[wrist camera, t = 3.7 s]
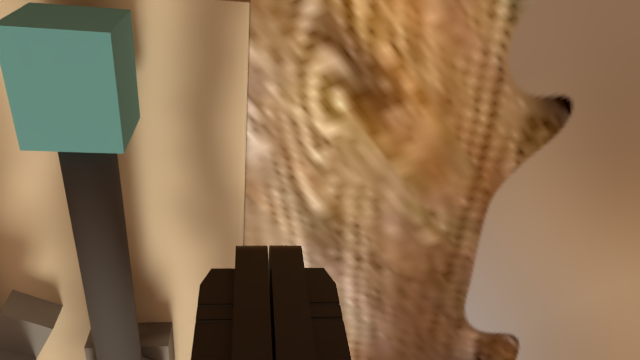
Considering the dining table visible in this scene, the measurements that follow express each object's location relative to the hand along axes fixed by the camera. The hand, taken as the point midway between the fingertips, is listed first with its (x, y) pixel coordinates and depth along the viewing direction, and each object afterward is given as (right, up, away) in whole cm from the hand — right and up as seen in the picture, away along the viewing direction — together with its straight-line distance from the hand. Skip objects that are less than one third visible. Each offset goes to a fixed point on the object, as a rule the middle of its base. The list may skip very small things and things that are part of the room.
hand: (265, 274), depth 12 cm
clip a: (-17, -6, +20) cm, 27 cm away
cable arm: (-10, -1, +16) cm, 19 cm away
